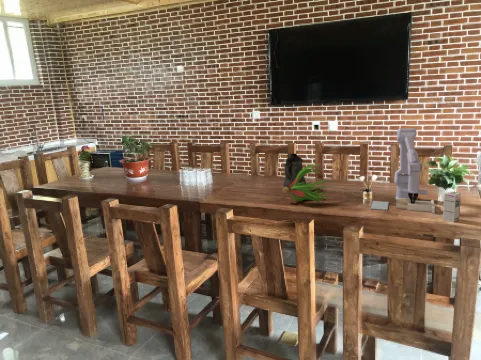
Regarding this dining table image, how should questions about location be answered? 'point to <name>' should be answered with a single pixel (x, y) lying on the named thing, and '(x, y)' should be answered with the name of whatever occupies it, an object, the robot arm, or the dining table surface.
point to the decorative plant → (305, 187)
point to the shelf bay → (422, 206)
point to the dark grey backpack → (293, 170)
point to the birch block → (402, 203)
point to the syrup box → (451, 206)
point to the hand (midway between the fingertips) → (412, 205)
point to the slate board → (379, 205)
